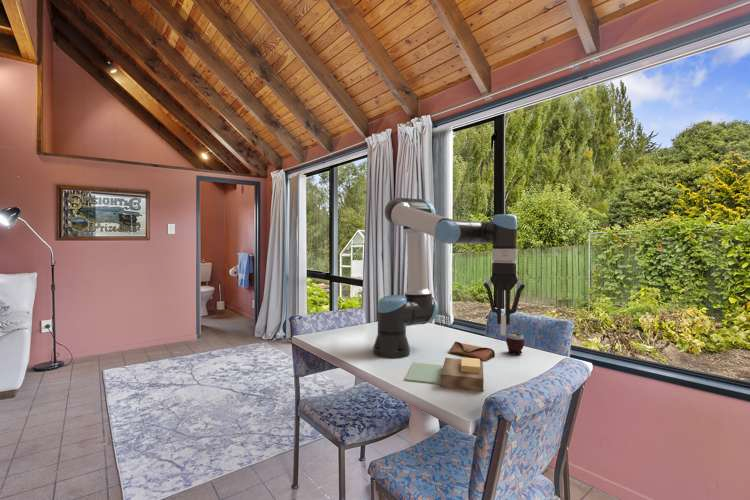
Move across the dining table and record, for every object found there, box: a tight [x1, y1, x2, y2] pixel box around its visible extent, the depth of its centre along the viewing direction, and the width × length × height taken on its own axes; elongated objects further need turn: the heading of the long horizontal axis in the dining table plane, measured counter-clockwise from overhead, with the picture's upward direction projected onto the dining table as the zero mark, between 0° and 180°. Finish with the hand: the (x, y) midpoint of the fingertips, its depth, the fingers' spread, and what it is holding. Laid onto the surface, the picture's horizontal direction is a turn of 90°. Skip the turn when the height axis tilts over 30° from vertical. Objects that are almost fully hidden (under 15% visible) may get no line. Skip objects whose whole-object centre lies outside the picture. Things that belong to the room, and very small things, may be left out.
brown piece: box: [440, 357, 484, 392], centre depth 126 cm, size 13×18×4 cm
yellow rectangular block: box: [461, 356, 481, 373], centre depth 126 cm, size 6×9×2 cm, turn 165°
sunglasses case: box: [447, 341, 496, 363], centre depth 154 cm, size 18×7×7 cm, turn 52°
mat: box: [404, 361, 444, 385], centre depth 132 cm, size 12×18×1 cm, turn 165°
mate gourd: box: [506, 318, 531, 356], centre depth 157 cm, size 8×8×15 cm
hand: (503, 334), depth 123 cm, fingers closed
